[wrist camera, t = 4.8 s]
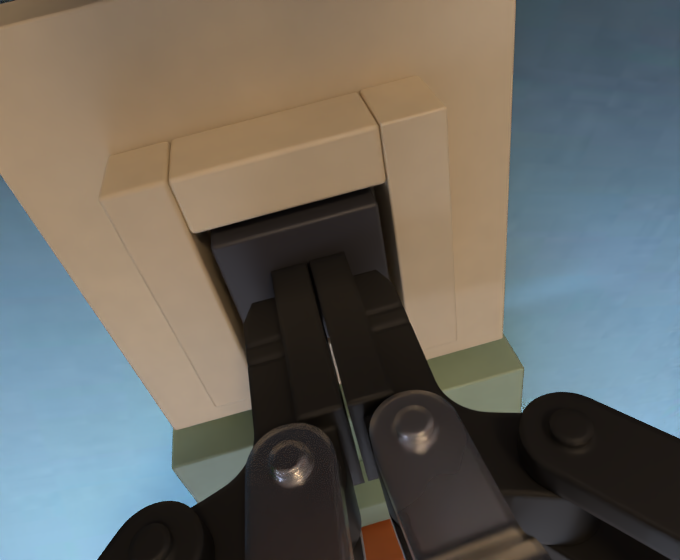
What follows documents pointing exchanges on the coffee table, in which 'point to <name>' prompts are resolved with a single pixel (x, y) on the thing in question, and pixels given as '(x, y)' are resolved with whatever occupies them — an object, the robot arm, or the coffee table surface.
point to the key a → (298, 244)
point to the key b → (381, 542)
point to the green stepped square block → (450, 374)
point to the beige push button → (257, 159)
